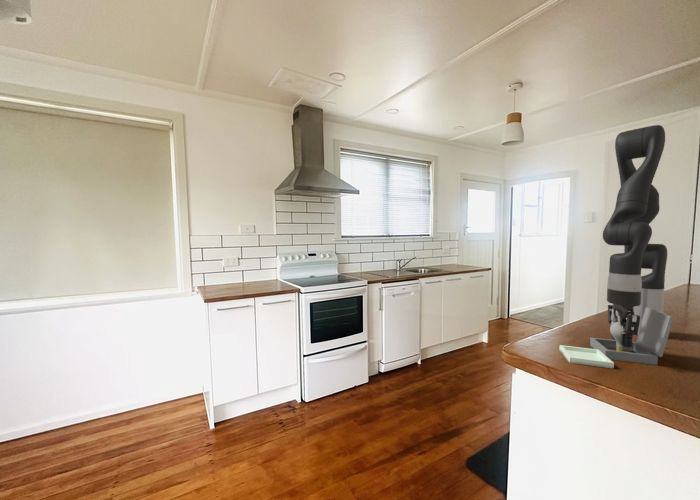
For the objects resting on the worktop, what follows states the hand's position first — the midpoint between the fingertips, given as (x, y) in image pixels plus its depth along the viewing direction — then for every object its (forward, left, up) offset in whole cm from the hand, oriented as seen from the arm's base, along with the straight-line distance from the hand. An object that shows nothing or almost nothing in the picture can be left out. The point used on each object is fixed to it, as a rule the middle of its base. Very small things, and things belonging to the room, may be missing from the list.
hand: (621, 342), depth 89 cm
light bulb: (0, 0, -4) cm, 4 cm away
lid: (0, +7, +5) cm, 8 cm away
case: (0, 0, -4) cm, 4 cm away
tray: (+8, -12, -4) cm, 14 cm away
